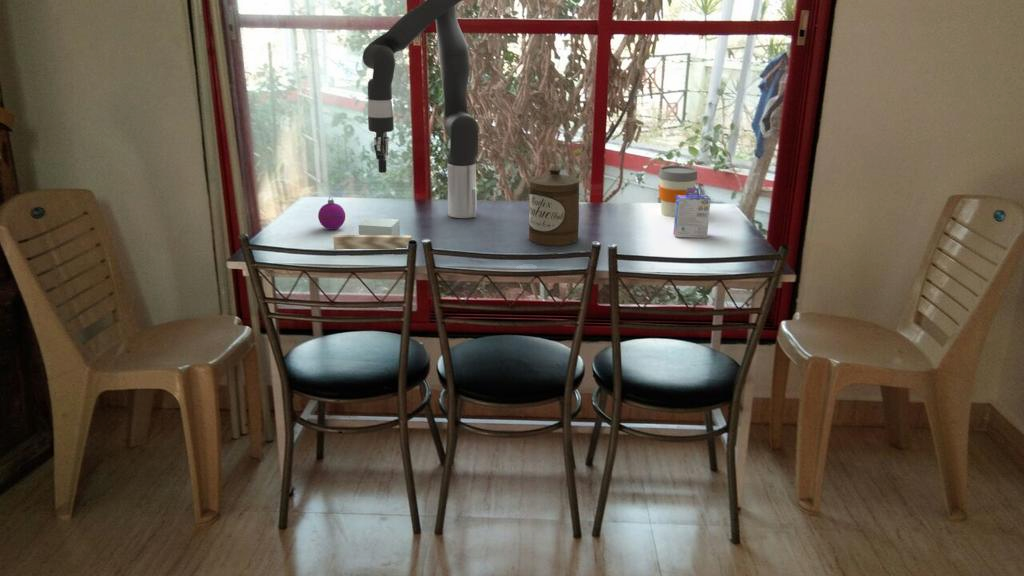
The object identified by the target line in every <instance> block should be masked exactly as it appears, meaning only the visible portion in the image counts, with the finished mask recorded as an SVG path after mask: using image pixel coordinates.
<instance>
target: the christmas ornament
mask: <svg viewBox="0 0 1024 576" xmlns="http://www.w3.org/2000/svg"><path fill="white" fill-rule="evenodd" d="M317 217H318V220H319V224H320V225H321V226H322V227H323V228H325V229H328V230H336V229H339V228H340V227H342V226H343V224H345V221H346V213H345V210H344V208H343V207H342V206H341V205H340V204H338V203H335V200H334V199H333V197H329V199H328V200H327V203H326V204H323V205H322V206H321V207H320V209H319V210H318V214H317Z"/></svg>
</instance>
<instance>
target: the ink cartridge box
mask: <svg viewBox="0 0 1024 576" xmlns="http://www.w3.org/2000/svg"><path fill="white" fill-rule="evenodd" d="M699 189H700V188H699V187H696V188H687V195H676V205H675V217H674V222H673V223H674V224H673V235H674V237H675V238H693V239H694V238H699V239H701V238H703V239H704V238H705V239H706V238H708V229H709V220H710V219H709V218H710V217H709V216H710V207H711V197H709V196H708V195H707V194H705V195H704V194H700V190H699ZM691 190H695V193H689V191H691Z"/></svg>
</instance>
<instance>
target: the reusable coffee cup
mask: <svg viewBox="0 0 1024 576" xmlns="http://www.w3.org/2000/svg"><path fill="white" fill-rule="evenodd" d="M658 172H659V173H658V179H659V184H658V198H659V200H660V211H661V212H660V213H661V215H663V216H666V217H671V218H675V205H676V195H687V188H697V187H696V181H697V180H698V170H697V169H696V168H694V167H692V166H685V165H667V166H666V165H665V166H662V167H660V168H659V171H658ZM689 193H696V191H695V190H691V191H689Z"/></svg>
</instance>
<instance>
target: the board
mask: <svg viewBox="0 0 1024 576" xmlns="http://www.w3.org/2000/svg"><path fill="white" fill-rule="evenodd" d="M332 239H333V250H334V249H396V248H407V246H408V242H409V241H410V240H412V241H413V236H412V235H404V234H403V235H402V234H400V235H359V234H334V235H333V238H332Z"/></svg>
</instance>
